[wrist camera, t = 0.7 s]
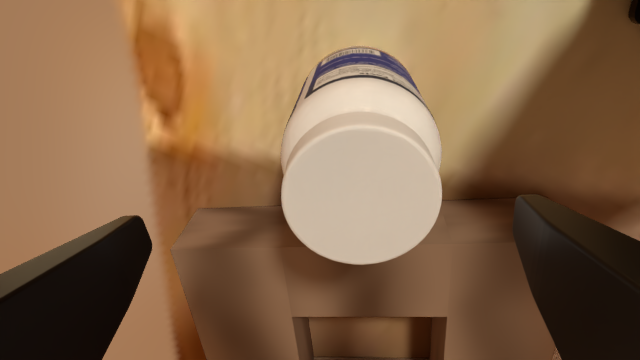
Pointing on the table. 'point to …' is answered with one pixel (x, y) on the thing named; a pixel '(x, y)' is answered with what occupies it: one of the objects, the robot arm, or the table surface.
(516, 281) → the well block
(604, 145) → the table surface
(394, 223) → the pill bottle
